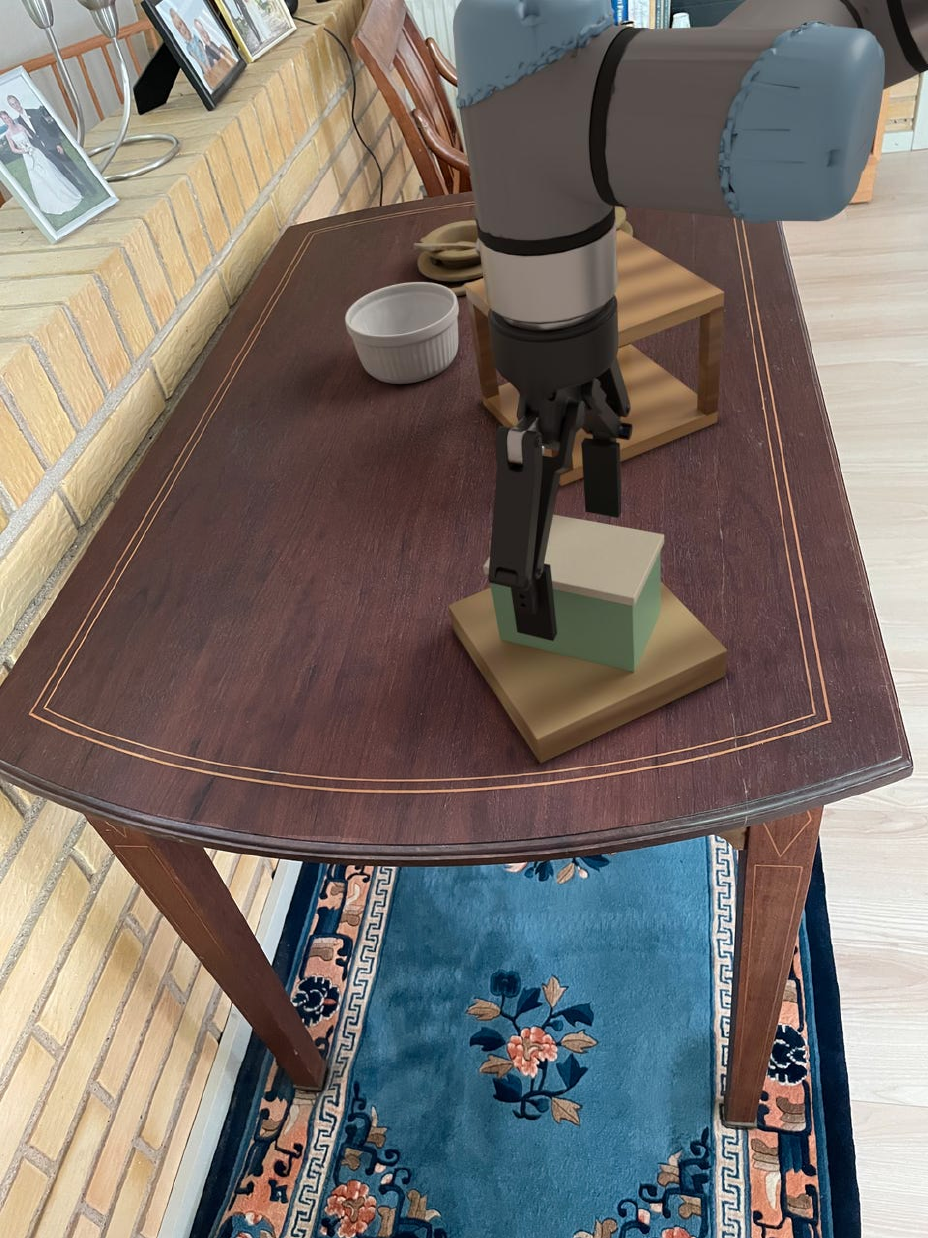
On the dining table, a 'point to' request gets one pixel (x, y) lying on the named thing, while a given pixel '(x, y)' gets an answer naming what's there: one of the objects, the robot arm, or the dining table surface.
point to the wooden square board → (586, 675)
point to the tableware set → (466, 251)
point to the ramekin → (405, 331)
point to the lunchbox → (595, 593)
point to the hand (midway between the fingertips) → (572, 569)
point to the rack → (632, 352)
